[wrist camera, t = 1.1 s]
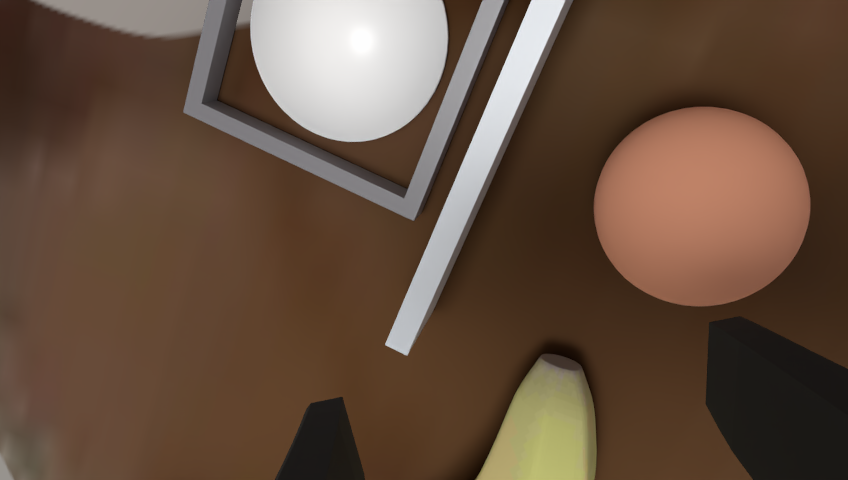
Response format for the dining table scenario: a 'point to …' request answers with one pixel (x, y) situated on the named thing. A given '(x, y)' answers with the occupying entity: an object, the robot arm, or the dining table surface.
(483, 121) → the acrylic wall
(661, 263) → the ball
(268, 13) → the grey square frame
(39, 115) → the dining table surface
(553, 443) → the banana
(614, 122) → the dining table surface
